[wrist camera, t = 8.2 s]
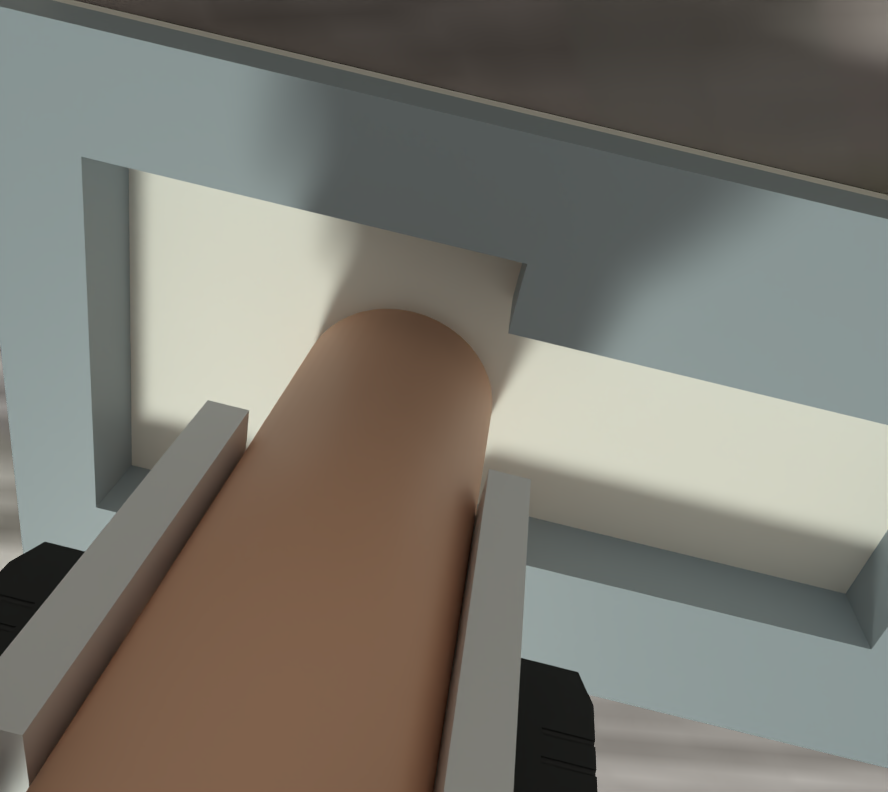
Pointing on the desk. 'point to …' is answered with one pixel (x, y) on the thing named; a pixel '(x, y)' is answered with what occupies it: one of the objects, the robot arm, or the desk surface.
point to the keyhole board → (473, 340)
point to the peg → (309, 589)
